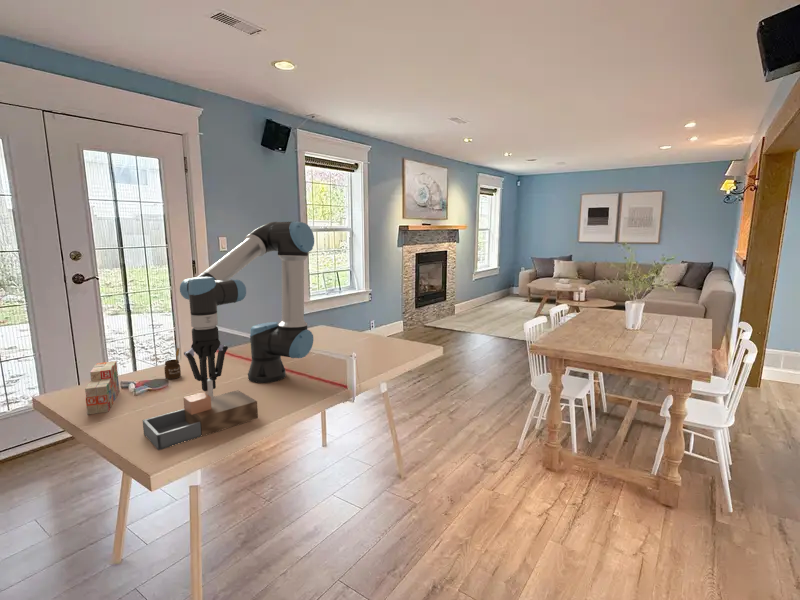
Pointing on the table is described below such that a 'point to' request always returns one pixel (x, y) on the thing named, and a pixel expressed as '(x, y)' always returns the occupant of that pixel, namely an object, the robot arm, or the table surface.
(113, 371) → the stack of blocks
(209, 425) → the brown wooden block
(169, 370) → the utensil holder
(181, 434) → the box
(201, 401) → the salmon orange block
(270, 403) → the table surface
